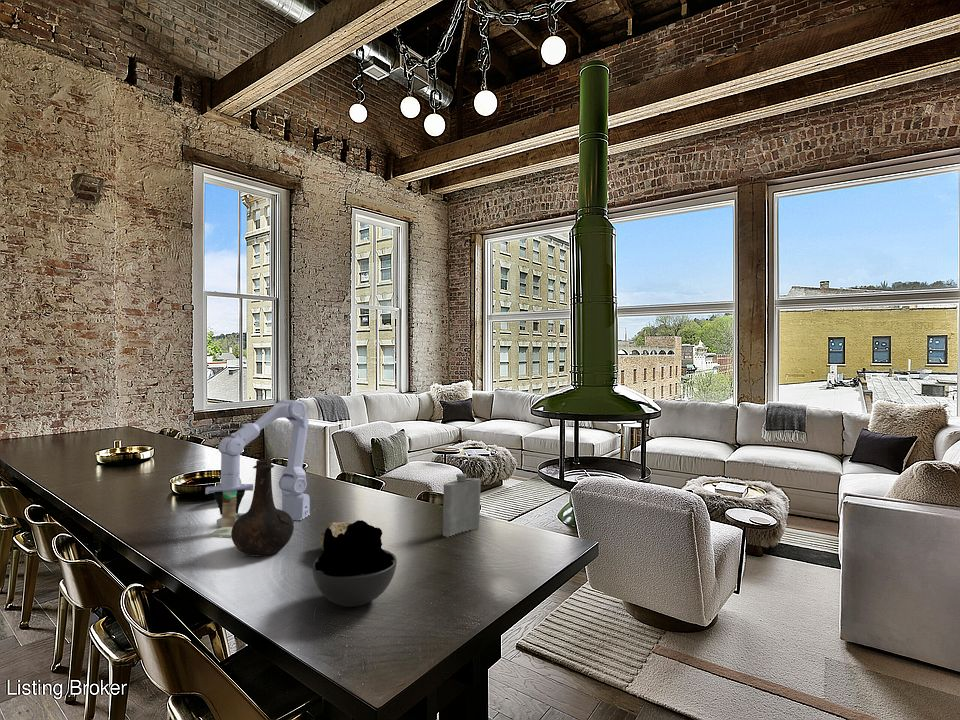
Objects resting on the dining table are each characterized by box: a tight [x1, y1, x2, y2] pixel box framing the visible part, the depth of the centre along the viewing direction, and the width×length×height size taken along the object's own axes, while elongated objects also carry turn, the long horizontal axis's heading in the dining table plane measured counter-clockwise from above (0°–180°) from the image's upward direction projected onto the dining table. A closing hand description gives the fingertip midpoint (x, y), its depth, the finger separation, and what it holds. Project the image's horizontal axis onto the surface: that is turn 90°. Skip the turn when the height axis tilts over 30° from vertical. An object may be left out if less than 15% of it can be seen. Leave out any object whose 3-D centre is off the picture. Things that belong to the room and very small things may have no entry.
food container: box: [216, 477, 242, 508], centre depth 208 cm, size 12×6×10 cm, turn 179°
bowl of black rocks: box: [311, 519, 398, 608], centre depth 125 cm, size 20×20×19 cm
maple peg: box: [221, 502, 236, 527], centre depth 174 cm, size 4×4×7 cm
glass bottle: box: [230, 458, 295, 557], centre depth 158 cm, size 18×18×28 cm
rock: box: [320, 521, 354, 551], centre depth 156 cm, size 21×14×10 cm
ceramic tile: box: [208, 527, 233, 538], centre depth 173 cm, size 9×8×1 cm
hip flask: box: [442, 473, 481, 538], centre depth 179 cm, size 16×4×20 cm, turn 133°
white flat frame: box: [215, 512, 246, 528], centre depth 183 cm, size 14×9×2 cm, turn 83°
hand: (229, 513), depth 173 cm, fingers closed on maple peg, 4 cm apart
